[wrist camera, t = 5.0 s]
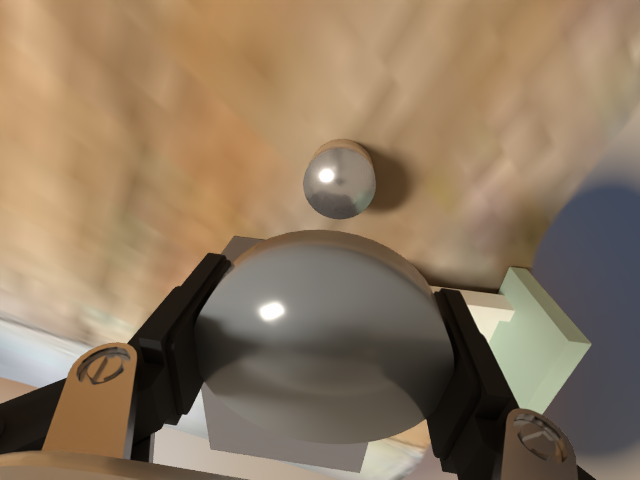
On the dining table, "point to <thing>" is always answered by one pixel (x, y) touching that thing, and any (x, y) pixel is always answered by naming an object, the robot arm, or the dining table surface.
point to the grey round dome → (324, 339)
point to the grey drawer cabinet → (256, 441)
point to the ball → (340, 179)
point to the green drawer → (527, 337)
